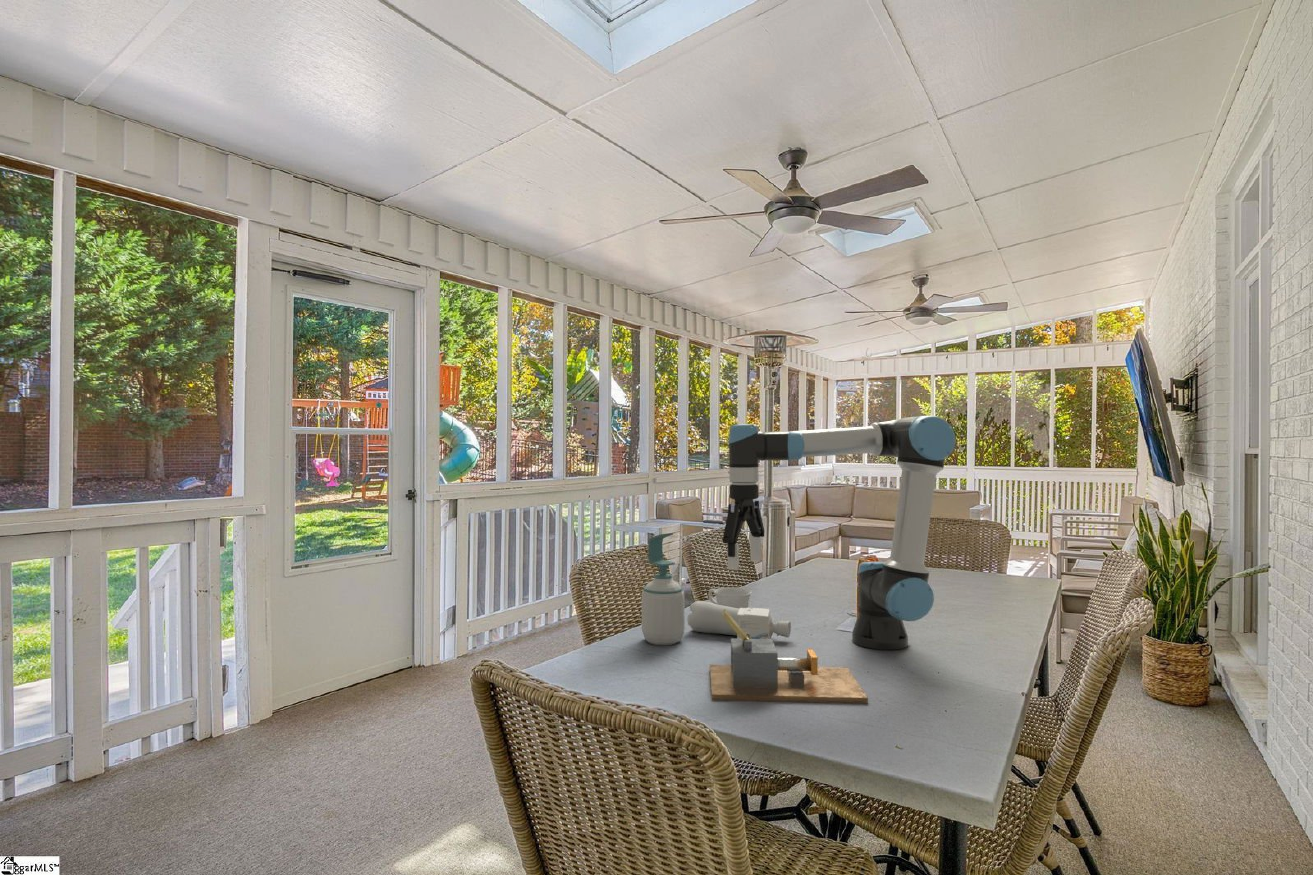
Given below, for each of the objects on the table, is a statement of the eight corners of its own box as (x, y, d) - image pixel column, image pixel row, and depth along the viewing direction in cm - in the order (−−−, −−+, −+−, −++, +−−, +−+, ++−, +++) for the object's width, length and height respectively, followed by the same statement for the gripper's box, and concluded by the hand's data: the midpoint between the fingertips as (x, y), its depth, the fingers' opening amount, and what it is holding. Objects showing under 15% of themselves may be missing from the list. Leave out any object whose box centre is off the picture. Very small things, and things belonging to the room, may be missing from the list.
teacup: (718, 614, 222) (718, 584, 222) (758, 621, 214) (758, 590, 214) (699, 622, 213) (699, 590, 213) (740, 629, 204) (740, 597, 204)
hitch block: (847, 672, 166) (847, 627, 166) (867, 703, 146) (867, 651, 146) (710, 669, 168) (709, 625, 168) (711, 700, 148) (711, 649, 148)
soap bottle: (661, 650, 184) (661, 536, 184) (632, 640, 193) (632, 532, 193) (693, 641, 192) (693, 533, 192) (664, 632, 201) (664, 529, 201)
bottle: (683, 624, 198) (783, 639, 186) (690, 595, 202) (788, 608, 190) (692, 634, 205) (789, 650, 192) (699, 606, 209) (794, 619, 197)
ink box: (768, 660, 175) (768, 615, 175) (736, 658, 176) (736, 614, 177) (770, 650, 183) (769, 608, 183) (739, 648, 185) (738, 606, 185)
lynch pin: (813, 667, 159) (812, 649, 159) (817, 675, 153) (817, 657, 153) (756, 666, 160) (756, 648, 160) (758, 674, 154) (758, 656, 154)
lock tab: (745, 641, 159) (749, 638, 159) (747, 646, 155) (751, 643, 155) (721, 611, 160) (725, 608, 160) (722, 616, 155) (726, 613, 155)
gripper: (750, 480, 186) (751, 557, 186) (708, 486, 165) (709, 571, 165) (776, 481, 182) (776, 559, 182) (735, 486, 161) (736, 574, 161)
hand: (744, 565), depth 173 cm, fingers open, 13 cm apart
